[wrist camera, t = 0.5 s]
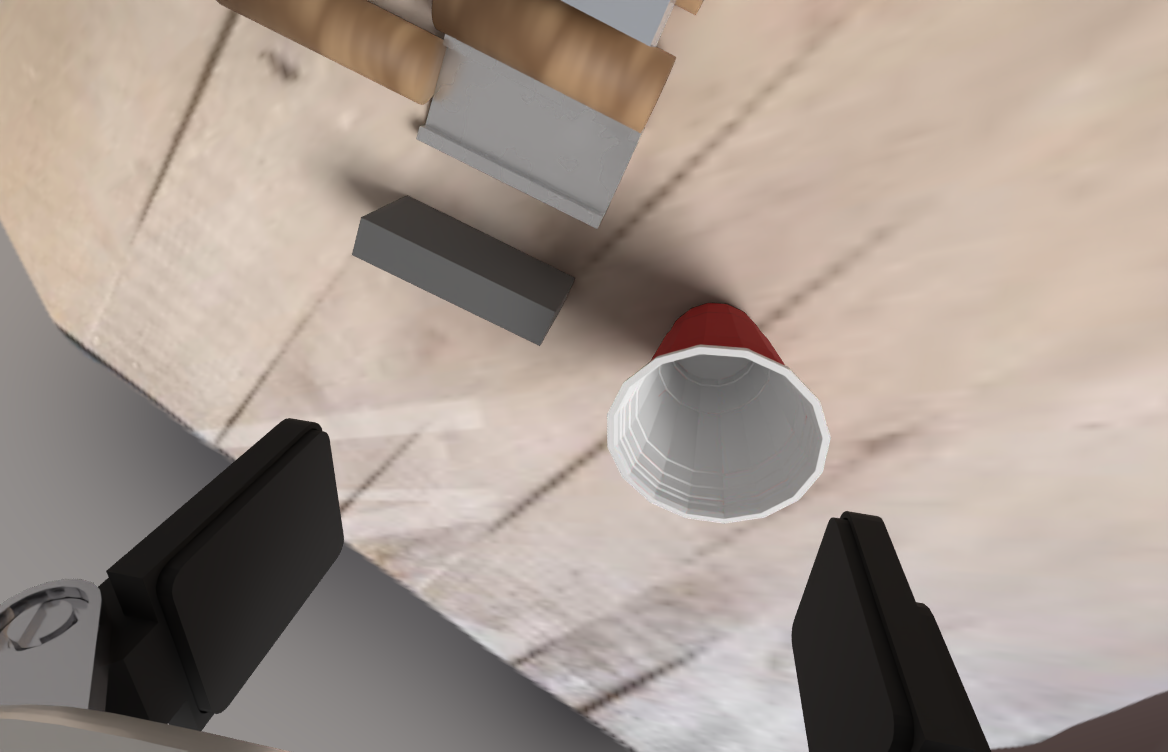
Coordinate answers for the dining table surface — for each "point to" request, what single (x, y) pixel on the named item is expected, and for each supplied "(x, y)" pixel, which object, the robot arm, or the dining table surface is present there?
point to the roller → (356, 40)
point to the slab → (630, 16)
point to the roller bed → (565, 51)
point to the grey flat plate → (527, 134)
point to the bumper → (463, 267)
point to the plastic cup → (717, 422)
